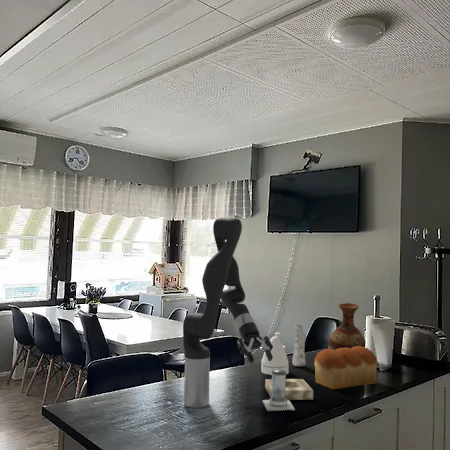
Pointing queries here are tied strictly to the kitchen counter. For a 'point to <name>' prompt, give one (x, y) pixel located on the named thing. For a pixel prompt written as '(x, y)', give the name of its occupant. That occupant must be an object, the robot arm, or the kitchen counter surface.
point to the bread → (345, 367)
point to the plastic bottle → (299, 347)
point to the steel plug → (278, 388)
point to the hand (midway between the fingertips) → (261, 361)
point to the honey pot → (275, 357)
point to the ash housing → (293, 389)
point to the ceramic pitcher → (347, 330)
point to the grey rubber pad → (273, 408)
